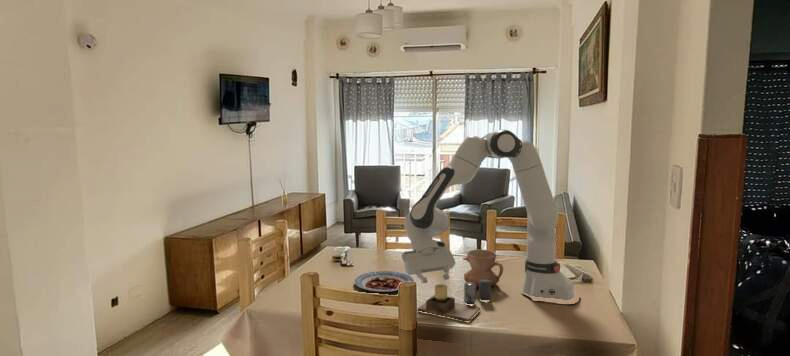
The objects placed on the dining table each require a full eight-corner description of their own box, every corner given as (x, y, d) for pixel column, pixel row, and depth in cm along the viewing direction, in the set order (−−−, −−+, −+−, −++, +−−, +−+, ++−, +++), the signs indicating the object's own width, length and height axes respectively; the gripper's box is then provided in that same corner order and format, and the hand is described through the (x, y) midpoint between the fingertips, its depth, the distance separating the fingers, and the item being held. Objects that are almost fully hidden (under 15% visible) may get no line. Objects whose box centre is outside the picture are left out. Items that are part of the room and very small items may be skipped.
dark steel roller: (477, 303, 190) (477, 283, 189) (473, 307, 186) (473, 286, 185) (466, 301, 192) (466, 281, 191) (462, 304, 188) (462, 284, 187)
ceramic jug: (455, 286, 209) (456, 253, 207) (469, 277, 221) (470, 246, 219) (495, 294, 199) (496, 260, 197) (508, 284, 211) (509, 252, 210)
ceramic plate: (408, 298, 196) (408, 290, 195) (346, 293, 201) (346, 286, 200) (418, 277, 221) (418, 271, 220) (363, 274, 226) (363, 267, 225)
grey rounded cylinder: (492, 300, 193) (492, 280, 192) (488, 303, 189) (488, 283, 188) (481, 298, 195) (481, 278, 194) (477, 301, 191) (477, 281, 190)
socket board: (480, 311, 181) (480, 299, 181) (468, 323, 171) (468, 310, 171) (431, 301, 191) (431, 290, 191) (417, 312, 181) (417, 300, 180)
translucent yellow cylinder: (448, 306, 182) (449, 285, 181) (443, 310, 179) (444, 289, 178) (437, 303, 185) (438, 283, 183) (432, 307, 181) (433, 287, 180)
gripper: (402, 247, 185) (414, 280, 177) (449, 242, 193) (462, 273, 185) (397, 256, 189) (408, 288, 182) (443, 250, 198) (456, 281, 190)
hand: (436, 280), depth 184 cm, fingers open, 8 cm apart
